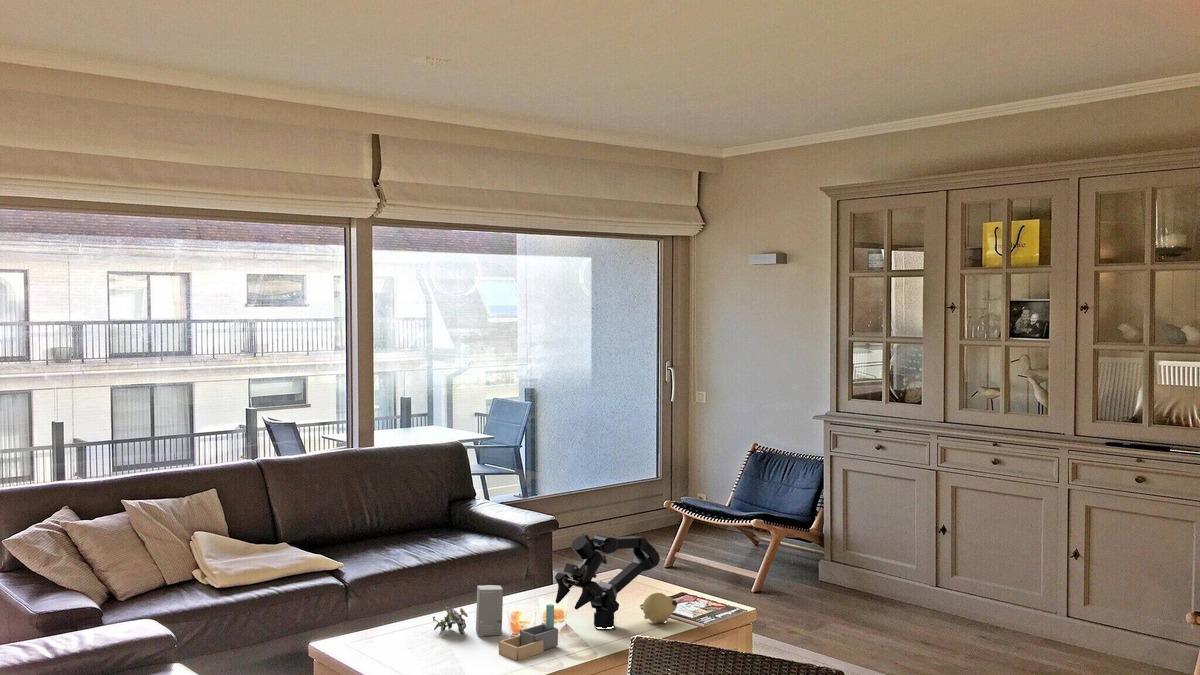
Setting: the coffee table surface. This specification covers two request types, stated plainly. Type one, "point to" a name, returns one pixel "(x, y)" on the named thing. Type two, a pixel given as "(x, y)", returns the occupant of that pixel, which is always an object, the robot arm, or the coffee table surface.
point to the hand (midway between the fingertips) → (565, 605)
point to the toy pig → (658, 607)
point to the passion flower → (452, 620)
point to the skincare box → (489, 610)
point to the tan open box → (519, 648)
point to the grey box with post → (542, 631)
